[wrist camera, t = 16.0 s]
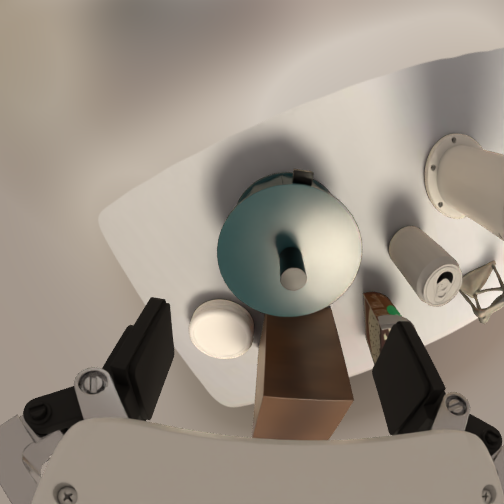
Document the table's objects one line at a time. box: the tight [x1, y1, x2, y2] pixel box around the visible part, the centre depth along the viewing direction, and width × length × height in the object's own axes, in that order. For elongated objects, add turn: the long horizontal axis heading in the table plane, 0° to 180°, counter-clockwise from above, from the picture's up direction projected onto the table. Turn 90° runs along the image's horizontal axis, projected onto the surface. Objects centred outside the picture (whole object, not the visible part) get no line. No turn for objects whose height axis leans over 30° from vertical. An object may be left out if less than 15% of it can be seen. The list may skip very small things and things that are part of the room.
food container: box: [363, 292, 416, 365], centre depth 39 cm, size 12×6×10 cm, turn 15°
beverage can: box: [389, 226, 462, 307], centre depth 33 cm, size 6×6×12 cm
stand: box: [252, 307, 354, 440], centre depth 37 cm, size 10×10×18 cm
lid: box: [217, 183, 362, 317], centre depth 28 cm, size 15×15×5 cm
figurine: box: [459, 261, 504, 324], centre depth 34 cm, size 11×6×15 cm, turn 110°
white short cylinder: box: [189, 299, 254, 359], centre depth 44 cm, size 10×10×4 cm
